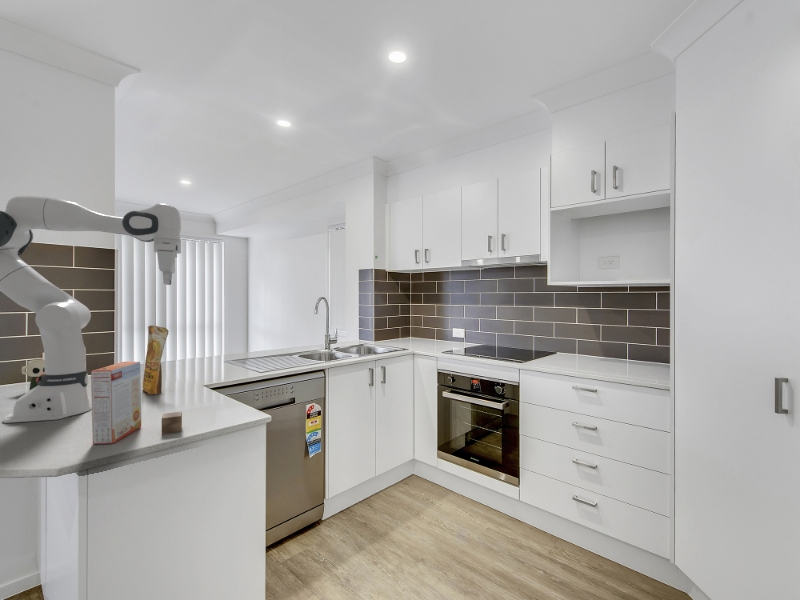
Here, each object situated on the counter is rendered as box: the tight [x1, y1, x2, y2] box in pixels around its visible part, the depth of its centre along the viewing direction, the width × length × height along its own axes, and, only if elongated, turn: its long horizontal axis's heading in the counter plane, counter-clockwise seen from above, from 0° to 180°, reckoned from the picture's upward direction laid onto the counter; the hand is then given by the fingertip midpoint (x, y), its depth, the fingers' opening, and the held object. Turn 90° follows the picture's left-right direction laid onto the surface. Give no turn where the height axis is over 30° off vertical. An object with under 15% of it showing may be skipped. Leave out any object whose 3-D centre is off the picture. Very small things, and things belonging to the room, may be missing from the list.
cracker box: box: [90, 361, 142, 445], centre depth 114 cm, size 14×6×21 cm, turn 5°
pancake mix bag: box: [142, 325, 169, 396], centre depth 167 cm, size 7×19×28 cm, turn 46°
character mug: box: [21, 359, 45, 391], centre depth 166 cm, size 11×7×13 cm, turn 143°
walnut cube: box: [161, 411, 183, 436], centre depth 119 cm, size 5×5×5 cm
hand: (167, 284), depth 146 cm, fingers open, 8 cm apart
